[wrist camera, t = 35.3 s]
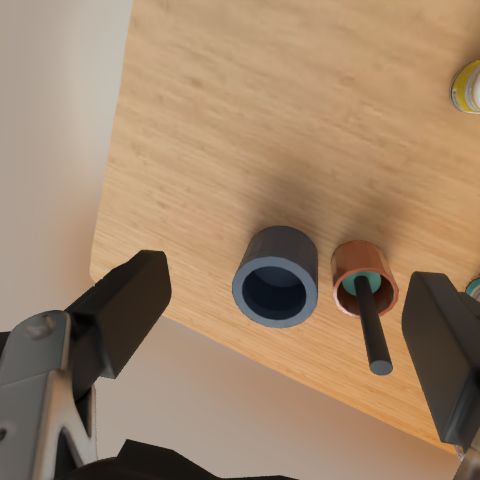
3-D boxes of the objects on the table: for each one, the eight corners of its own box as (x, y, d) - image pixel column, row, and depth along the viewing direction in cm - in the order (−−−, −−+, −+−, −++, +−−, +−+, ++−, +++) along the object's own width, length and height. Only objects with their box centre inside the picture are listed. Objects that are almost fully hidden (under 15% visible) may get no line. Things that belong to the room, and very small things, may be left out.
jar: (234, 258, 50) (216, 292, 41) (277, 211, 45) (268, 239, 36) (284, 299, 51) (277, 340, 43) (333, 257, 46) (336, 296, 37)
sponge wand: (333, 266, 46) (341, 364, 29) (358, 245, 44) (383, 338, 27) (357, 286, 46) (378, 394, 30) (383, 267, 44) (423, 371, 27)
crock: (320, 263, 47) (320, 293, 40) (358, 230, 43) (366, 256, 36) (356, 294, 48) (363, 328, 41) (397, 263, 44) (412, 295, 37)
